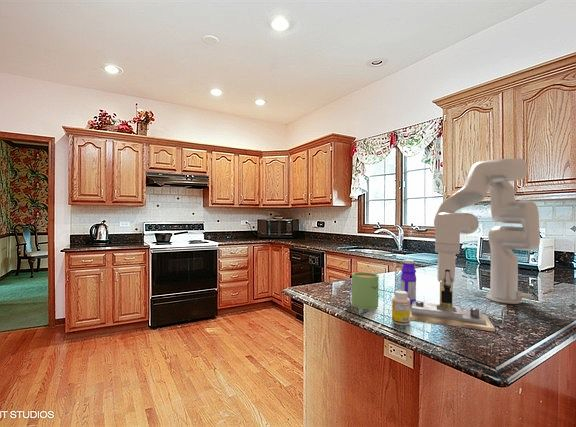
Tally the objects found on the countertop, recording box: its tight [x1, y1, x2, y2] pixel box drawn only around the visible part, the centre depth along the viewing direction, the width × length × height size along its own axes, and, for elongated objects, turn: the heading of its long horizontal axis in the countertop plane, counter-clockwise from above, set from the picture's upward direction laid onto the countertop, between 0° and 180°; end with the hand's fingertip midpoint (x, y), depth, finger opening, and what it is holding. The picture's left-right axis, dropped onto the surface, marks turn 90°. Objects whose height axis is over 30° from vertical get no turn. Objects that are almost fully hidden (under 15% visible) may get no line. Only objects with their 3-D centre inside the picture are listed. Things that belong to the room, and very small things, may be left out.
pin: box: [439, 281, 454, 308], centre depth 106 cm, size 4×4×8 cm
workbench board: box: [410, 305, 496, 333], centre depth 106 cm, size 26×14×1 cm, turn 66°
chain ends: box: [411, 300, 486, 325], centre depth 106 cm, size 22×9×3 cm, turn 66°
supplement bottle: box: [391, 290, 411, 326], centre depth 101 cm, size 6×6×10 cm
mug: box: [351, 271, 380, 310], centre depth 121 cm, size 13×10×12 cm
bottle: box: [400, 258, 417, 305], centre depth 125 cm, size 7×6×17 cm
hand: (446, 300), depth 106 cm, fingers closed on pin, 4 cm apart
